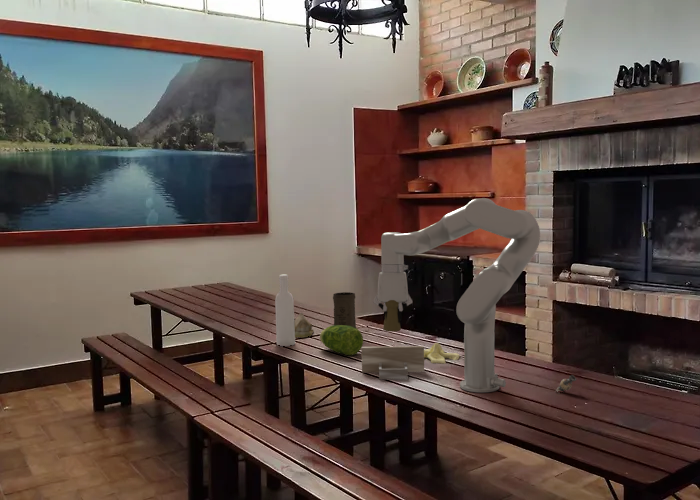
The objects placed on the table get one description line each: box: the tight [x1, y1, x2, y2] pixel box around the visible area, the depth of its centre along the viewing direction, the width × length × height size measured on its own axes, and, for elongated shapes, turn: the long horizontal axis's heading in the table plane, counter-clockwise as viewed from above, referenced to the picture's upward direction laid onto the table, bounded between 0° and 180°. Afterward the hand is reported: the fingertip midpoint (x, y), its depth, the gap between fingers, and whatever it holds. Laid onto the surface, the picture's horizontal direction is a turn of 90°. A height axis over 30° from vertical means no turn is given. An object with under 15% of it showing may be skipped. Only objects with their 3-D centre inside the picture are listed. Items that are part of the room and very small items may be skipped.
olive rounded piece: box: [382, 300, 402, 333], centre depth 220 cm, size 6×6×11 cm
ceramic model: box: [294, 312, 315, 338], centre depth 295 cm, size 14×11×10 cm
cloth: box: [424, 342, 461, 365], centre depth 248 cm, size 22×19×6 cm
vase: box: [554, 374, 577, 392], centre depth 201 cm, size 5×5×6 cm
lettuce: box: [319, 324, 364, 357], centre depth 260 cm, size 12×21×11 cm, turn 43°
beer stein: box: [332, 291, 357, 328], centre depth 289 cm, size 15×11×20 cm
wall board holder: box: [361, 345, 425, 380], centre depth 224 cm, size 10×22×9 cm, turn 87°
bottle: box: [274, 273, 296, 347], centre depth 274 cm, size 8×8×30 cm
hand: (392, 321), depth 220 cm, fingers closed on olive rounded piece, 3 cm apart
